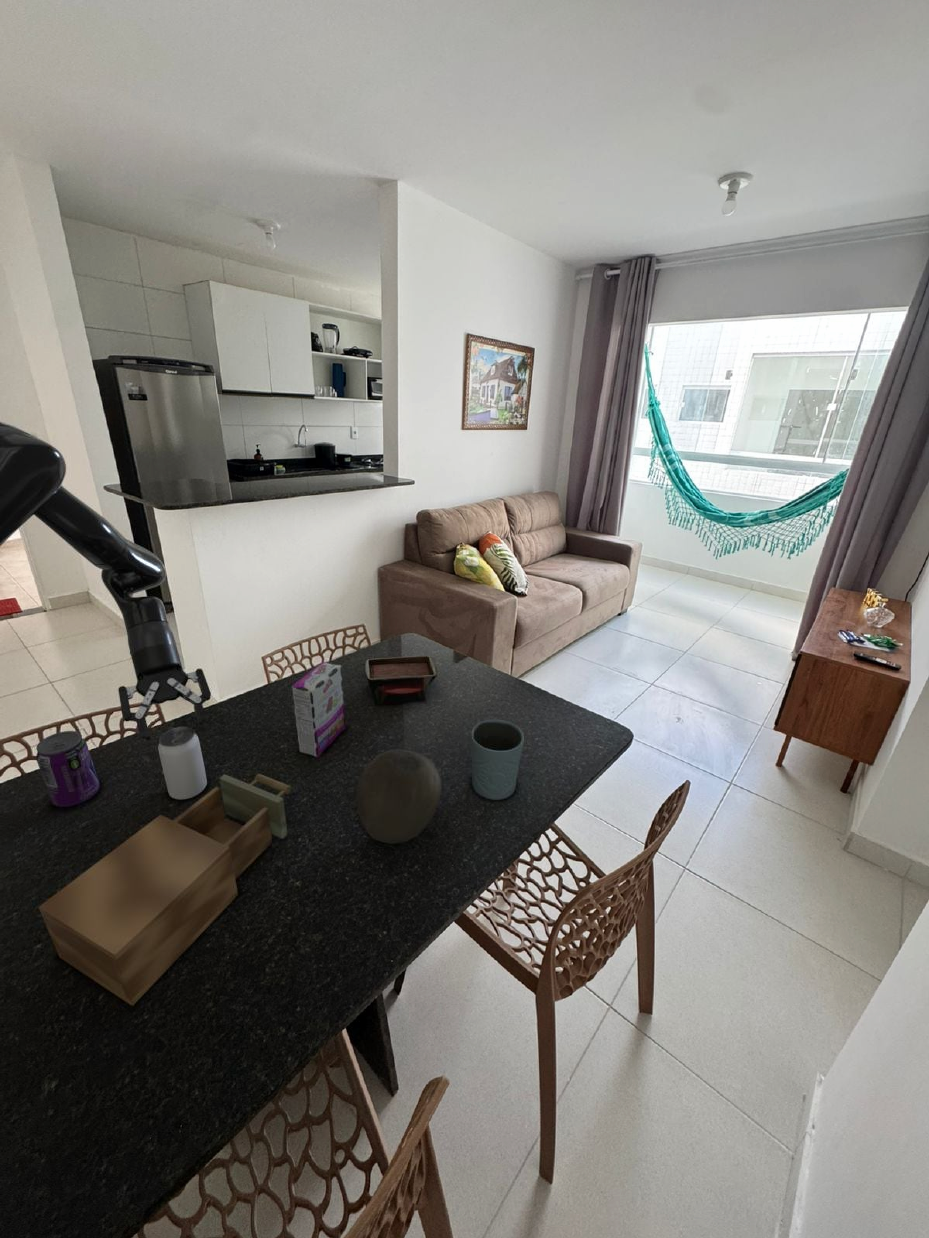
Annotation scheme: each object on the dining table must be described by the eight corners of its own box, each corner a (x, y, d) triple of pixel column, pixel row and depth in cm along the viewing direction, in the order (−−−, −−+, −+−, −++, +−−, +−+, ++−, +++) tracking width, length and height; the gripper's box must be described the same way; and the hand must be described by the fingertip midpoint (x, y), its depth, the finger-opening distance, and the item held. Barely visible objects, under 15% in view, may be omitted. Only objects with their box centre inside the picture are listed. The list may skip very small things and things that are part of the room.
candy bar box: (326, 723, 116) (322, 660, 110) (346, 728, 115) (342, 664, 108) (297, 752, 107) (290, 685, 100) (317, 758, 105) (312, 690, 99)
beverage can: (101, 800, 92) (84, 746, 87) (51, 815, 88) (31, 760, 83) (99, 776, 97) (84, 724, 92) (53, 790, 94) (34, 737, 89)
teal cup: (496, 810, 95) (502, 759, 90) (456, 783, 101) (459, 733, 96) (528, 783, 102) (534, 734, 97) (489, 760, 108) (493, 712, 103)
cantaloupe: (418, 873, 82) (420, 801, 76) (341, 845, 86) (337, 775, 80) (450, 812, 94) (454, 746, 88) (382, 790, 98) (381, 726, 92)
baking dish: (371, 682, 137) (364, 651, 132) (437, 673, 138) (432, 642, 133) (369, 717, 125) (361, 684, 120) (441, 706, 126) (436, 673, 121)
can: (209, 773, 100) (199, 722, 95) (205, 797, 94) (194, 744, 89) (172, 779, 98) (160, 728, 93) (165, 804, 92) (152, 750, 87)
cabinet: (172, 860, 81) (160, 814, 77) (238, 894, 77) (229, 847, 73) (59, 957, 67) (38, 906, 63) (132, 1006, 62) (114, 954, 58)
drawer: (251, 791, 95) (246, 757, 91) (306, 814, 90) (303, 779, 87) (150, 878, 77) (139, 839, 74) (212, 911, 73) (204, 872, 70)
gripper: (106, 652, 90) (127, 740, 86) (196, 635, 97) (218, 715, 94) (111, 666, 96) (131, 749, 92) (195, 648, 103) (216, 724, 100)
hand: (175, 731), depth 93 cm, fingers open, 8 cm apart
